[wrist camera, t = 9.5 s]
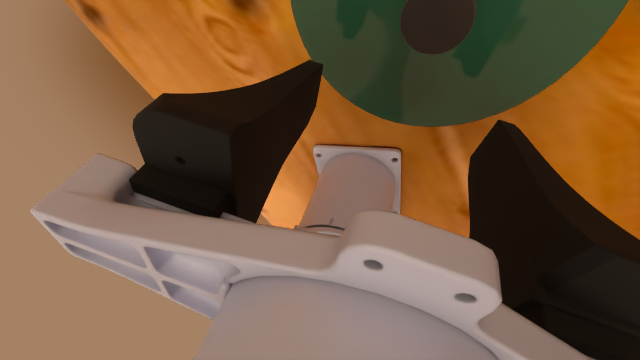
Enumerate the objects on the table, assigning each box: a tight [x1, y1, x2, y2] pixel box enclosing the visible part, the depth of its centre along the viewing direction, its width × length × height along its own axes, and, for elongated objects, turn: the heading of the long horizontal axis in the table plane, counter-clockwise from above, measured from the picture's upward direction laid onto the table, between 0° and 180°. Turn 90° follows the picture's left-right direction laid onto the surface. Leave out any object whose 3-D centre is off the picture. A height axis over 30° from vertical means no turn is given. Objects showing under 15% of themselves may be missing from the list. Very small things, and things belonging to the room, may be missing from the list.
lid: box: [291, 0, 629, 127], centre depth 12 cm, size 13×13×4 cm
